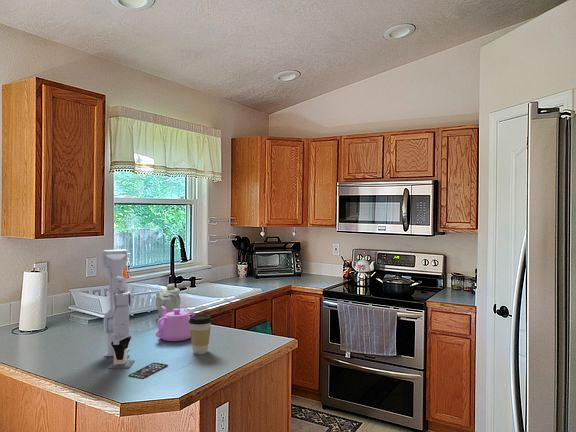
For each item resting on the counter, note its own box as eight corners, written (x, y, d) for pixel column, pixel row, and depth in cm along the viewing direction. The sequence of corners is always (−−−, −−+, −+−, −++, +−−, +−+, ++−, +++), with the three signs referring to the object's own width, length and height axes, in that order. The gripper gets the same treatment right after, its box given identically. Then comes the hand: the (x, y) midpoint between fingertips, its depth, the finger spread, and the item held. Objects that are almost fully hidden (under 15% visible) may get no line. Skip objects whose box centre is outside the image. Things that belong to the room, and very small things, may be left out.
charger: (116, 360, 176) (116, 348, 176) (127, 360, 176) (127, 347, 176) (113, 364, 172) (113, 351, 172) (124, 364, 172) (124, 350, 172)
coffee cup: (203, 346, 197) (203, 313, 197) (216, 352, 190) (216, 317, 190) (184, 351, 191) (184, 316, 190) (196, 357, 184) (196, 321, 183)
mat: (114, 361, 178) (114, 360, 178) (134, 361, 178) (134, 360, 178) (107, 368, 170) (107, 367, 170) (129, 368, 170) (129, 367, 170)
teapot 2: (179, 328, 228) (179, 301, 227) (206, 336, 213) (206, 307, 213) (140, 337, 211) (140, 308, 211) (166, 347, 197) (167, 316, 196)
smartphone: (126, 375, 163) (153, 362, 176) (126, 377, 163) (153, 363, 176) (143, 378, 160) (169, 364, 174) (143, 380, 160) (169, 366, 174)
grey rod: (127, 356, 184) (127, 354, 184) (129, 356, 184) (129, 354, 184) (123, 360, 179) (123, 359, 179) (125, 360, 179) (125, 359, 179)
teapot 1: (157, 322, 238) (157, 287, 237) (148, 317, 250) (148, 283, 250) (186, 318, 247) (186, 285, 247) (176, 313, 260) (176, 281, 259)
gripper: (116, 318, 181) (116, 351, 181) (104, 328, 166) (104, 364, 166) (134, 318, 181) (134, 351, 182) (124, 328, 167) (124, 363, 167)
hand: (121, 357), depth 174 cm, fingers closed on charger, 4 cm apart
